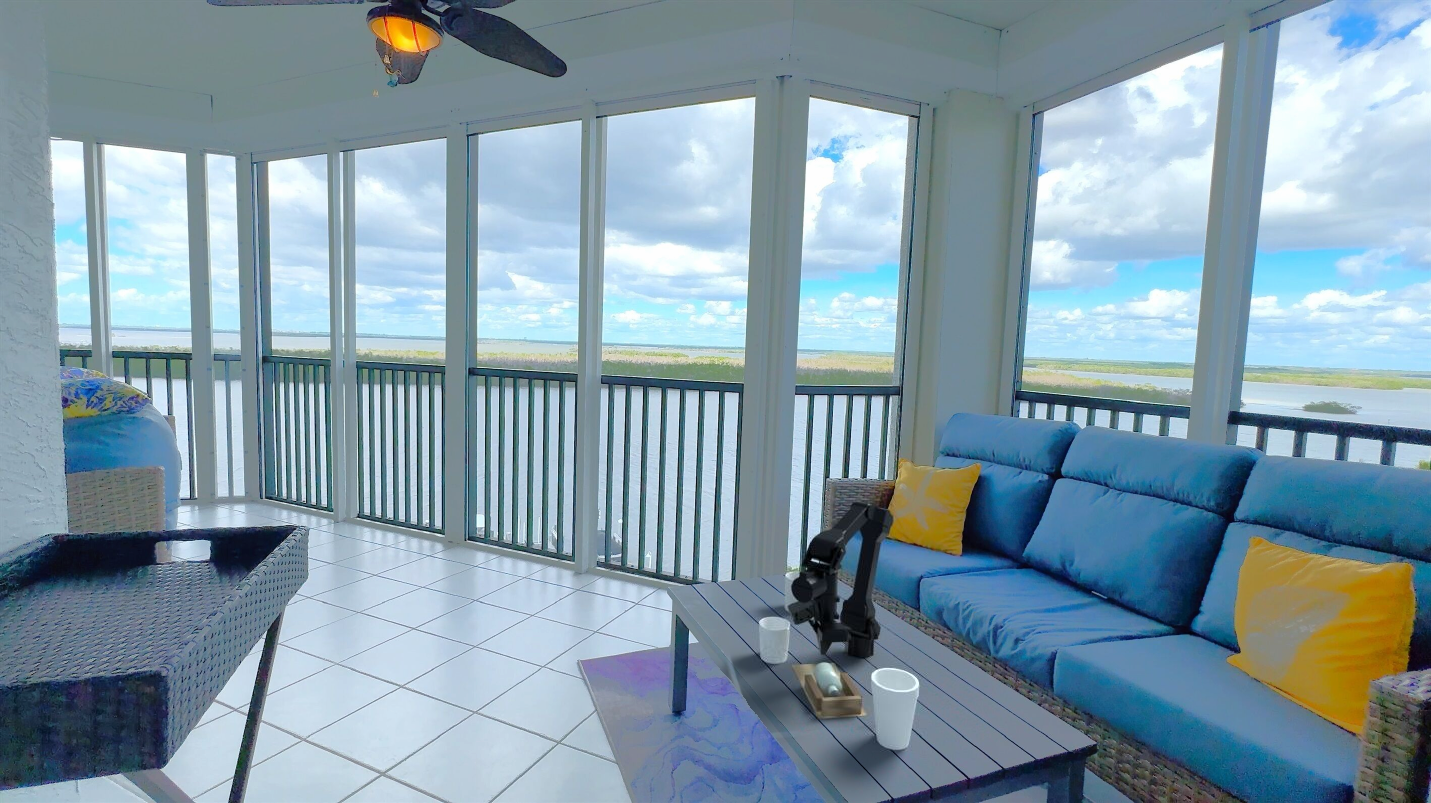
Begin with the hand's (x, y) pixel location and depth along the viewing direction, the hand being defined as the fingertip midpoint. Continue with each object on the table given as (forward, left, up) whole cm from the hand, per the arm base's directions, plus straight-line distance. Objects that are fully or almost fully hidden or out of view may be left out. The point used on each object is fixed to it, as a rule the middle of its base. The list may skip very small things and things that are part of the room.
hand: (822, 654), depth 150 cm
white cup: (+9, -13, -8) cm, 17 cm away
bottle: (0, +1, -4) cm, 4 cm away
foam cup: (-8, +22, -8) cm, 25 cm away
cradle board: (0, +3, -8) cm, 8 cm away
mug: (-6, -42, -8) cm, 43 cm away
